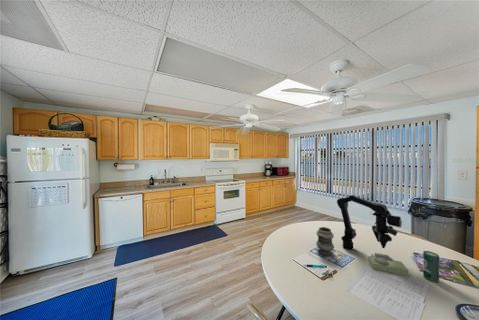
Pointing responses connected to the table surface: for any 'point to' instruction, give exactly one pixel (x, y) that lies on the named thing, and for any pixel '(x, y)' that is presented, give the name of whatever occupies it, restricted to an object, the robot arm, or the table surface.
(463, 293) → the table surface
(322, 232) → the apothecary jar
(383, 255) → the grey stepped block
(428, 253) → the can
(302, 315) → the table surface
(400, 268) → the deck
